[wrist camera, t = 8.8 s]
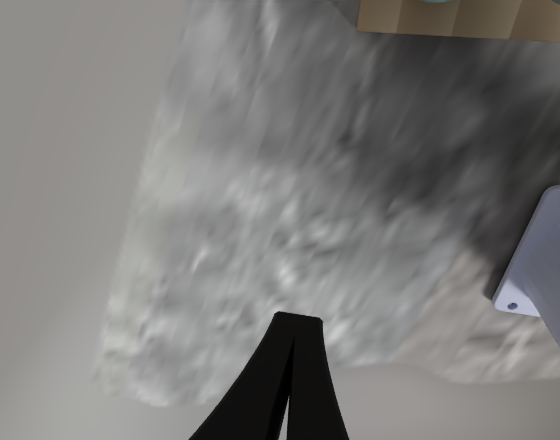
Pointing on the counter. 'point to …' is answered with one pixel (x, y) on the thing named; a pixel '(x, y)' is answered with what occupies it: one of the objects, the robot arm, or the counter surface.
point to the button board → (464, 18)
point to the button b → (435, 1)
